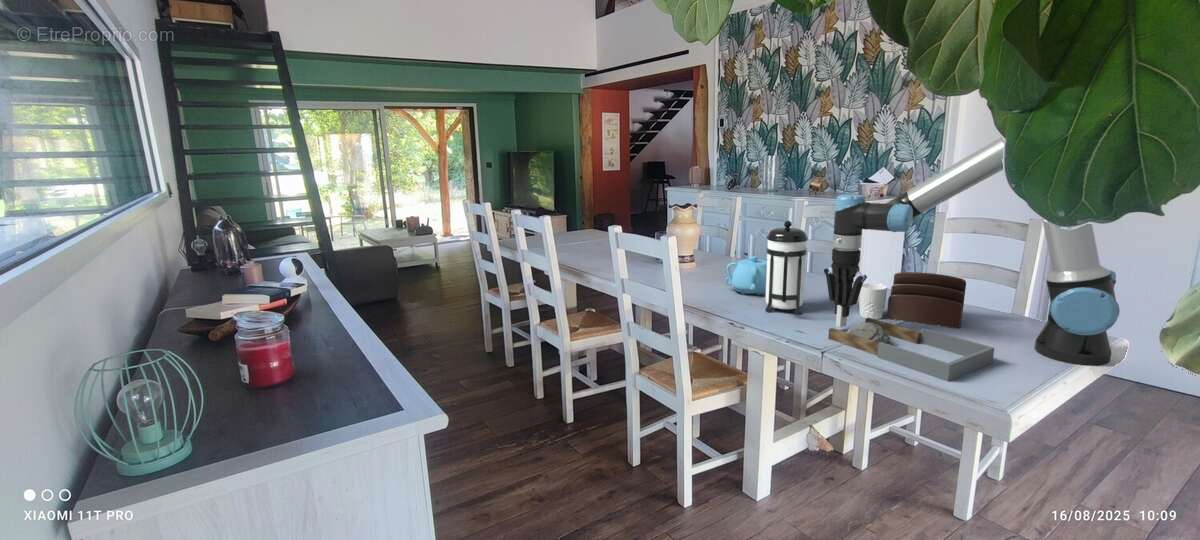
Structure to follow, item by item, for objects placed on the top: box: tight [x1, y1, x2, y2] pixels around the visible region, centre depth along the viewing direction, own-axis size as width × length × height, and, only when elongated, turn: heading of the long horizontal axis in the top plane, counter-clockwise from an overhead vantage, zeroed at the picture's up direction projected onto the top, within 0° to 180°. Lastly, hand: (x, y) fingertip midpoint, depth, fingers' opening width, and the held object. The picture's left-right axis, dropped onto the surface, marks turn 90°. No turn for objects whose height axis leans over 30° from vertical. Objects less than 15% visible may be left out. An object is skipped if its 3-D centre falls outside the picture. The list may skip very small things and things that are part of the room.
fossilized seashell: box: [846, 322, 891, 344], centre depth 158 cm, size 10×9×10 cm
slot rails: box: [828, 318, 921, 356], centre depth 158 cm, size 16×18×3 cm
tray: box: [876, 328, 995, 382], centre depth 144 cm, size 18×20×4 cm
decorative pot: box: [725, 255, 767, 296], centre depth 210 cm, size 16×16×14 cm
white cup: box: [858, 282, 888, 320], centre depth 179 cm, size 8×8×10 cm
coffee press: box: [765, 220, 809, 316], centre depth 185 cm, size 17×16×30 cm
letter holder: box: [886, 271, 967, 329], centre depth 174 cm, size 10×20×14 cm, turn 56°
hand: (840, 325), depth 167 cm, fingers closed
